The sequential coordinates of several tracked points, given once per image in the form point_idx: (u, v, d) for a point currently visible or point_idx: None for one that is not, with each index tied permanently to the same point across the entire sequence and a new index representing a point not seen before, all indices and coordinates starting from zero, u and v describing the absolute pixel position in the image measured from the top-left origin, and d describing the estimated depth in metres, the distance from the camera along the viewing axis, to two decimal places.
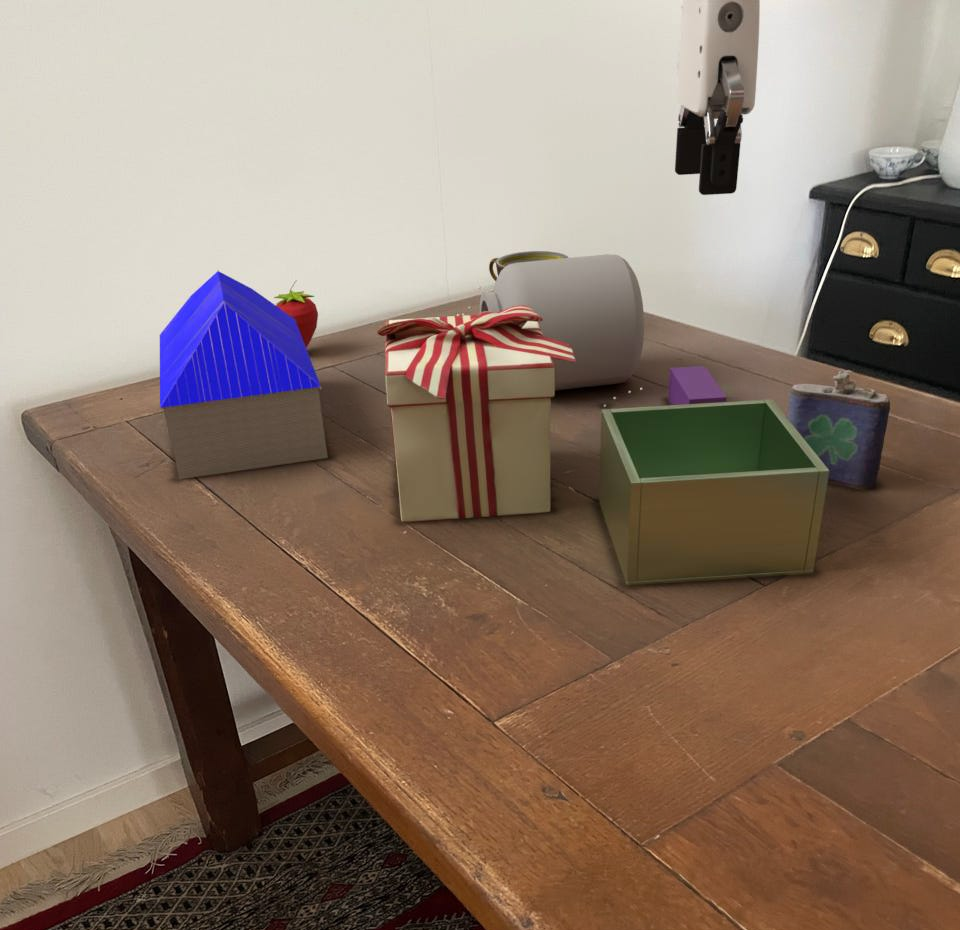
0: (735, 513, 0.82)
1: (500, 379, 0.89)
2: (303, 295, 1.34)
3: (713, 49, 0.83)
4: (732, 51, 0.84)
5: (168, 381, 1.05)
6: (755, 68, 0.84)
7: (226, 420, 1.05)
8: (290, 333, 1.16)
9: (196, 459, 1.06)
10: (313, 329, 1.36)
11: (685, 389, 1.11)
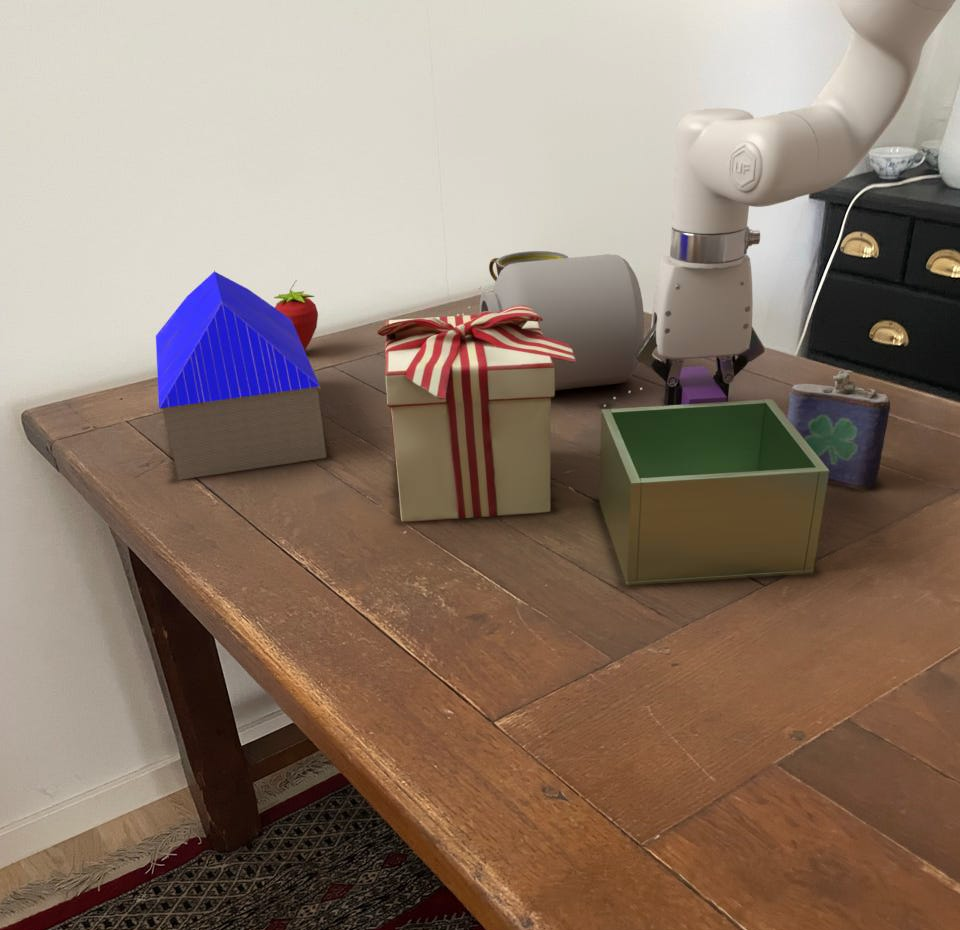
0: (735, 513, 0.82)
1: (500, 379, 0.89)
2: (303, 295, 1.34)
3: (752, 306, 1.07)
4: None
5: (166, 382, 1.05)
6: None
7: (225, 421, 1.05)
8: (287, 333, 1.16)
9: (195, 460, 1.06)
10: (313, 329, 1.36)
11: (685, 389, 1.11)
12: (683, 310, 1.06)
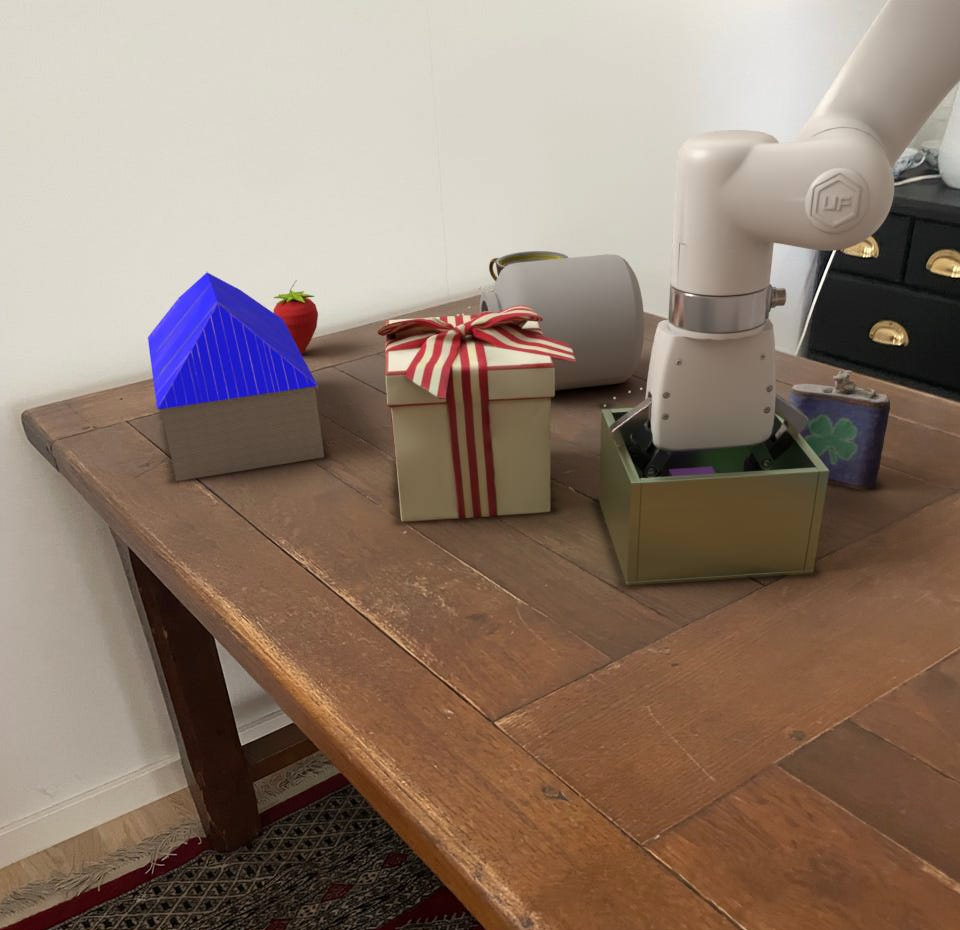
0: (735, 513, 0.82)
1: (500, 379, 0.89)
2: (303, 295, 1.34)
3: None
4: None
5: (163, 383, 1.05)
6: None
7: (223, 421, 1.04)
8: (281, 333, 1.16)
9: (193, 461, 1.06)
10: (313, 329, 1.36)
11: None
12: (686, 391, 0.81)
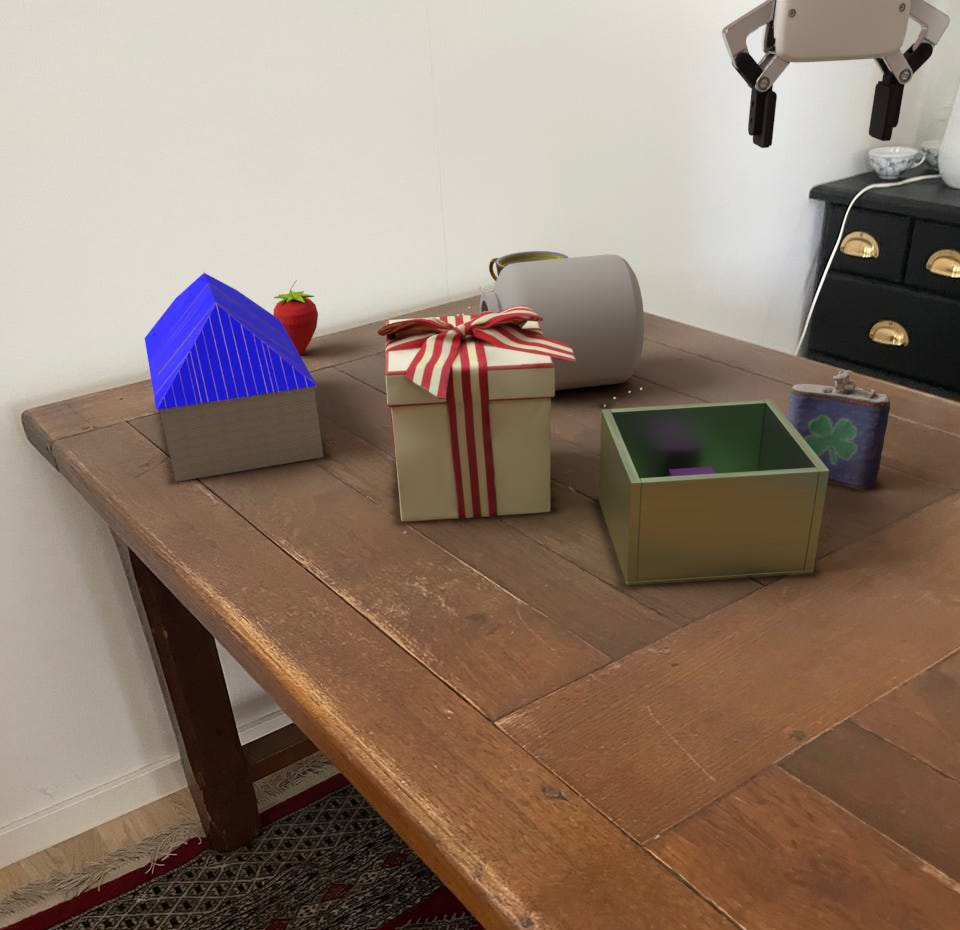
0: (735, 513, 0.82)
1: (500, 379, 0.89)
2: (303, 295, 1.34)
3: None
4: None
5: (162, 383, 1.05)
6: None
7: (222, 422, 1.04)
8: (279, 334, 1.16)
9: (192, 461, 1.05)
10: (313, 329, 1.36)
11: None
12: None
